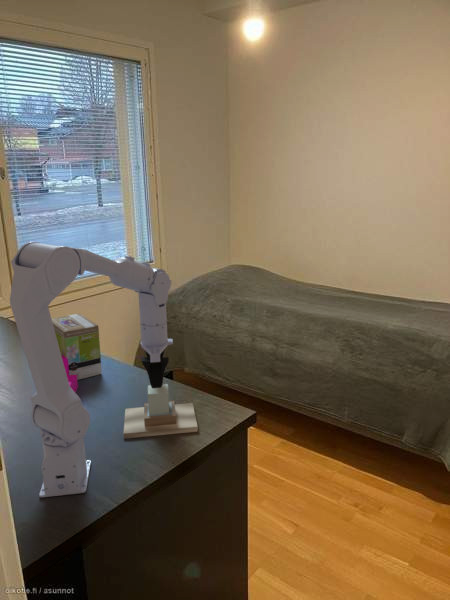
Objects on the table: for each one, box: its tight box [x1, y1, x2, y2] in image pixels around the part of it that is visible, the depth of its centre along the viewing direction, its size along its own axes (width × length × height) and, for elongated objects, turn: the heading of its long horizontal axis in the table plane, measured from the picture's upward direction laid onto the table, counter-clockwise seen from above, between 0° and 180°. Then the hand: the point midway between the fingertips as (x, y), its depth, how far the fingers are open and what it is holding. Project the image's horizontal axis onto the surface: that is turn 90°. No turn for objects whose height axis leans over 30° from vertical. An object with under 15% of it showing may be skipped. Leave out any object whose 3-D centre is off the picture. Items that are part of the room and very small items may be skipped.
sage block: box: [147, 383, 170, 415], centre depth 106 cm, size 4×4×5 cm
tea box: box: [51, 313, 102, 381], centre depth 134 cm, size 15×10×15 cm, turn 36°
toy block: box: [61, 355, 79, 393], centre depth 121 cm, size 15×6×8 cm, turn 6°
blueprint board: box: [122, 400, 199, 439], centre depth 107 cm, size 11×16×3 cm
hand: (156, 379), depth 105 cm, fingers open, 7 cm apart
